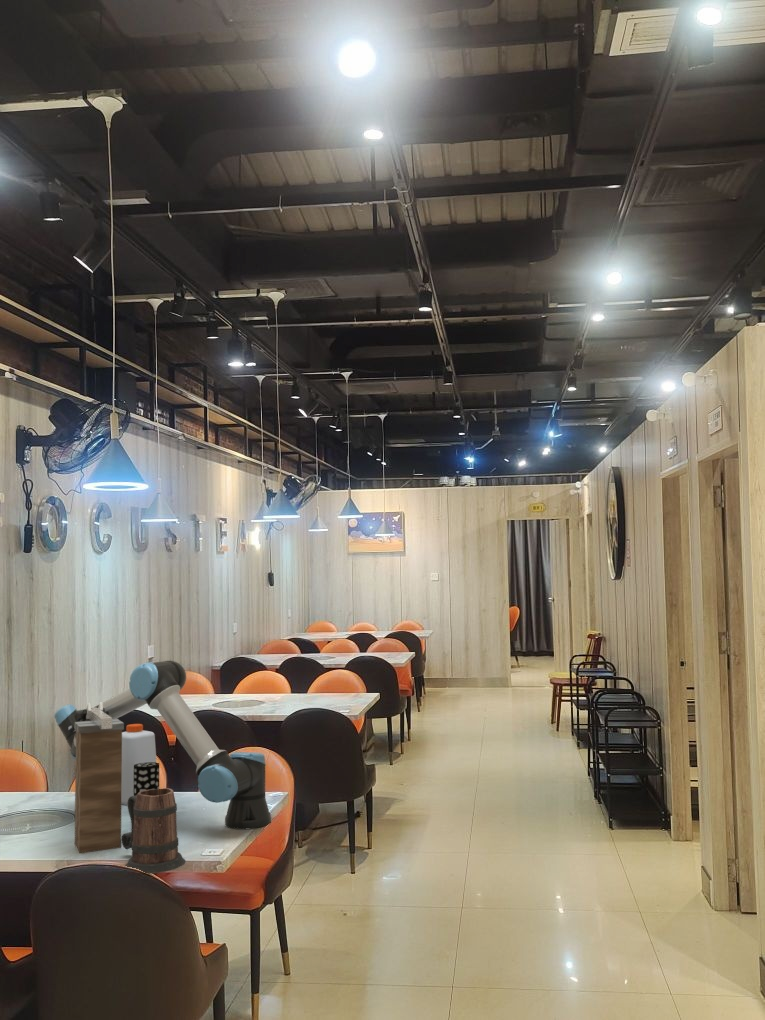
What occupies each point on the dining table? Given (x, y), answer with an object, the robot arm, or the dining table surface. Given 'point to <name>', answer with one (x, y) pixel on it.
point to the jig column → (98, 786)
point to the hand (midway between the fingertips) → (95, 706)
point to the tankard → (153, 832)
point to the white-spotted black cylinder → (146, 776)
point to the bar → (100, 718)
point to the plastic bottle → (135, 756)
